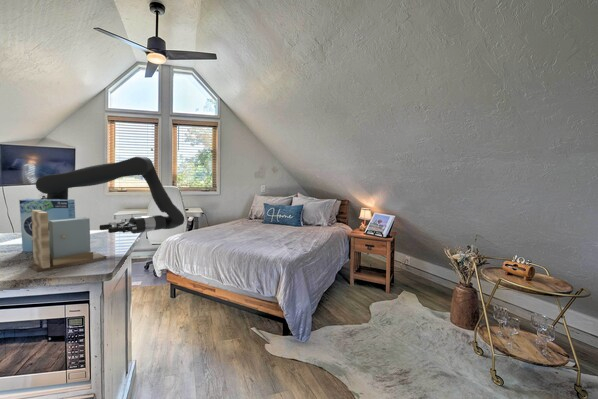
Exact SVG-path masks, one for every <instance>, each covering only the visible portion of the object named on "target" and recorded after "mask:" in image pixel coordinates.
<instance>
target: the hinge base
mask: <svg viewBox="0 0 598 399" xmlns="http://www.w3.org/2000/svg"><path fill="white" fill-rule="evenodd" d="M31 215H32V238H33V252H32V253H33V254H32V256H33V257H32V258H33V262H29V263H28V266H29V267H30V268H32V269H33V270H35V271H36V272H37V273H41V272H42V273H43V272H48V271H52V270H57V269H61V268H68V267H72V266H76V265H83V264H88V263H93V262H97V261H104V260H108V259H107V258H108V257H107V256H106V255H104V254H103V253H99V252H96V251H90V252H87V253H81V254H75V255H69V256H63V257H57V258H52V262H51V261H50V252H49V228H48V213H47V212H44V211H41V210H31Z"/></svg>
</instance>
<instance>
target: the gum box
mask: <svg viewBox="0 0 598 399" xmlns="http://www.w3.org/2000/svg"><path fill="white" fill-rule="evenodd" d="M18 202H19V212H20V213H19V214H20V216H19V217H20V228H21V230H20V231H21V245H22V252H27V253H28V252H31V253H33V238H32V215H31V210H41V211H44V212H47V213H48V228H49V221H50V220H61V219H73V218H76V208H75V206H76V203H75V202H76V201H75V199H68V200H62V199H46V198H24V199H19V200H18ZM49 252H50V237H49Z"/></svg>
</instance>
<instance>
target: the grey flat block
mask: <svg viewBox="0 0 598 399" xmlns="http://www.w3.org/2000/svg"><path fill="white" fill-rule="evenodd" d="M90 226H91V225H90V217H87V216H85V217H77V218H76V217H75V218H73V219H61V220H50V221H49V237H50V261H51V262H52V258H57V257H63V256H69V255H75V254H81V253H87V252H91V227H90Z"/></svg>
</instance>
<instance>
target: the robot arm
mask: <svg viewBox="0 0 598 399" xmlns="http://www.w3.org/2000/svg"><path fill="white" fill-rule="evenodd" d="M133 176H141V177H142V178H143V179H144V180H145V182H146V184H147V185H148V188H149V191H150V195H151V196H152V199H153V201H154V203H155V205H156V206H157V208H158V210H159V211H160V212H161V213H165V214H166V216H164V215H145V216H144V215H143V216H133V217H130V219H129V220H128V221H123V220H122V221H117V222H109V223H107V224H100V225H99V231H105V230H106V231H108V233H109V234H113V233H123V234H125V233H131V234H133V235H135V234H139V233H140V234H142V233H147V232H152V231H158V230H159V231H160V230H171V229H175V228H178V227H180V226H182V225H183V224H184V223H185V216H184V214H183V212H182V211H181V210H180V209H179V208H178V207H177V206H176V205H175V204H174V202H173V201H172V199H171V197H170V196H169V195H168V193H167V191H166V190H165V187H164V186H163V184H162V182H161V180H160V178H159V176H158V173H157V171H156V168H155V165H154V163H153V161H152V160H151V158H149V157H148V156H147V157H146V156H143V155H140V156H139V155H137V156H133V157H130V158H127V159H124V160H121V161H117V162H110V163H107V162H106V163H100V164H95V165H90V166H86V167H83V168H78V169H74V170H72V171H68V172H63V173H56V174H55V173H54V174H44V175H42V176H41V177H39V178H38V179H37V180H36V182H35V188H36V189H37V190H38V192H40V193H42V194H45V195H46V194H47V197H46V198H45V199H62V200H69V189H72V188H83V187H90V186H91V187H92V186H98V185H102V184H105V183H111V182H112V181H115V180H117V179H120V178H123V177H125V178H126V177H133Z"/></svg>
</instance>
